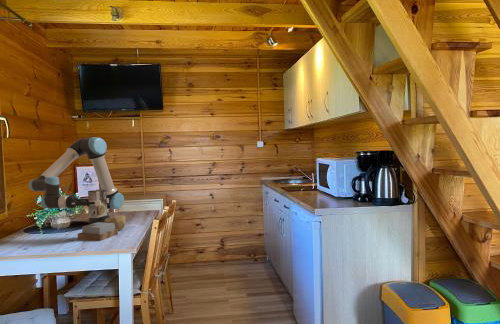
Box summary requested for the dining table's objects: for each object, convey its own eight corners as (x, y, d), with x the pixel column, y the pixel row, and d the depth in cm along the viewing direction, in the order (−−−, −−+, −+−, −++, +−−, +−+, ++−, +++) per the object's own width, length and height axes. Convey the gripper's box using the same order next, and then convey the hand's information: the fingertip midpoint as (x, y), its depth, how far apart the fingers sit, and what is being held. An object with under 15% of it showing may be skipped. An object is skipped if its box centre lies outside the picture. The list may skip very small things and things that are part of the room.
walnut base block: (96, 234, 225) (96, 228, 225) (117, 235, 221) (117, 229, 221) (77, 240, 210) (77, 233, 210) (100, 241, 206) (100, 235, 205)
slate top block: (98, 228, 224) (98, 222, 224) (115, 229, 220) (114, 223, 219) (82, 233, 212) (82, 226, 211) (99, 234, 207) (99, 227, 207)
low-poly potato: (130, 230, 235) (126, 219, 243) (127, 217, 229) (122, 207, 237) (107, 238, 229) (103, 227, 237) (103, 226, 223) (99, 215, 231)
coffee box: (98, 215, 220) (98, 189, 220) (107, 215, 218) (106, 189, 218) (88, 217, 212) (87, 190, 211) (96, 218, 210) (96, 191, 209)
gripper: (77, 205, 226) (112, 205, 226) (58, 211, 204) (96, 210, 203) (77, 193, 226) (112, 193, 226) (57, 198, 204) (96, 197, 203)
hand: (104, 201), depth 215 cm, fingers closed on coffee box, 10 cm apart
